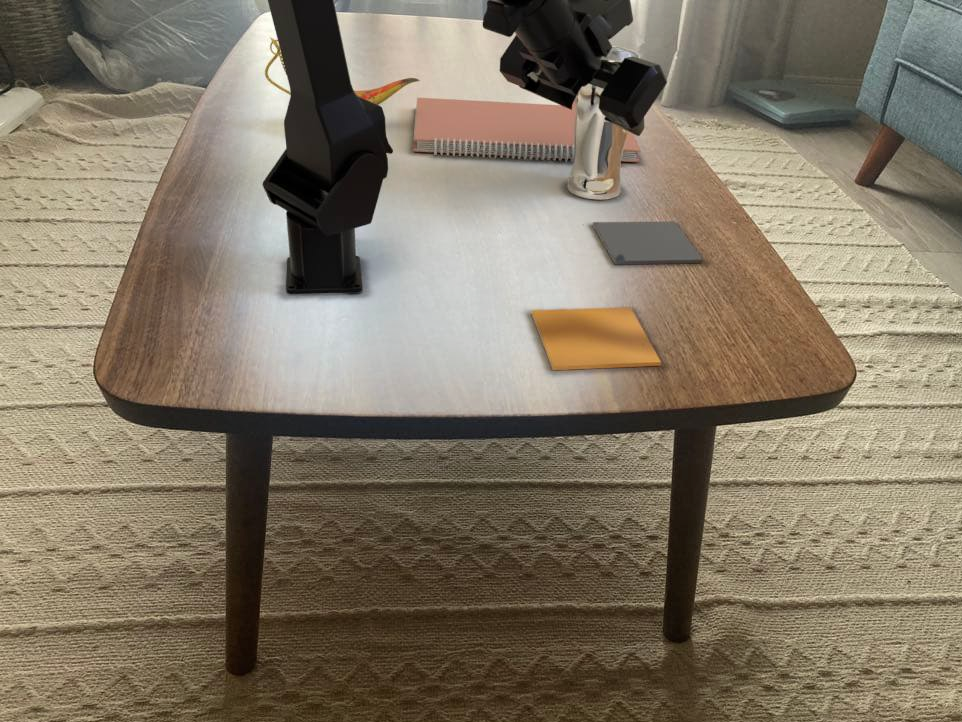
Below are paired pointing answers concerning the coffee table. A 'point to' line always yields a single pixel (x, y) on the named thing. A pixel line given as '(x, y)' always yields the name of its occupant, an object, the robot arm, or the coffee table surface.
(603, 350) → the honey coaster
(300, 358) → the coffee table surface
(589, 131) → the beer glass
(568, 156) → the notebook
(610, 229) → the slate coaster
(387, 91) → the magic lamp
